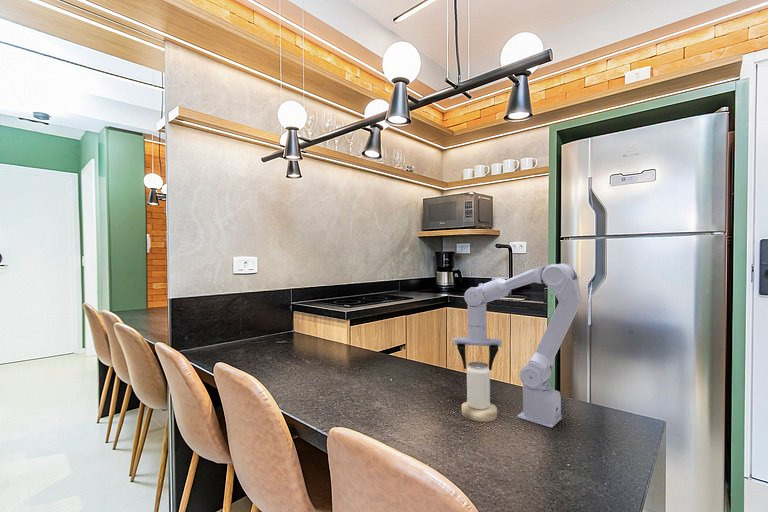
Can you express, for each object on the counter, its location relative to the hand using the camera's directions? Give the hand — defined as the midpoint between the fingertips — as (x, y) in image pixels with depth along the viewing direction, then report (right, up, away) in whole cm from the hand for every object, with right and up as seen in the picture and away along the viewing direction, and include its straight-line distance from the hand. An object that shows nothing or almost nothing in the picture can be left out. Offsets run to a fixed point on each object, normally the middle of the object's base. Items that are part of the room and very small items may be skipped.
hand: (477, 368), depth 114 cm
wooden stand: (-2, -10, -9) cm, 14 cm away
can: (-2, -9, -8) cm, 12 cm away
